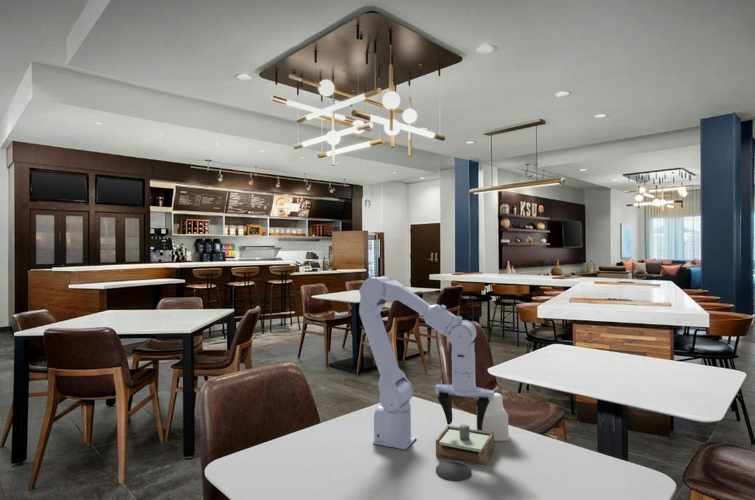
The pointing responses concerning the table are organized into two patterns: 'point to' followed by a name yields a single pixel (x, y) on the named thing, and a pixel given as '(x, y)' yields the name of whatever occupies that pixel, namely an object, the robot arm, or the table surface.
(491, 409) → the medicine bottle
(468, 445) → the cover plate
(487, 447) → the walnut box
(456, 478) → the rubber coaster
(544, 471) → the table surface
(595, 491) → the table surface
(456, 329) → the robot arm
